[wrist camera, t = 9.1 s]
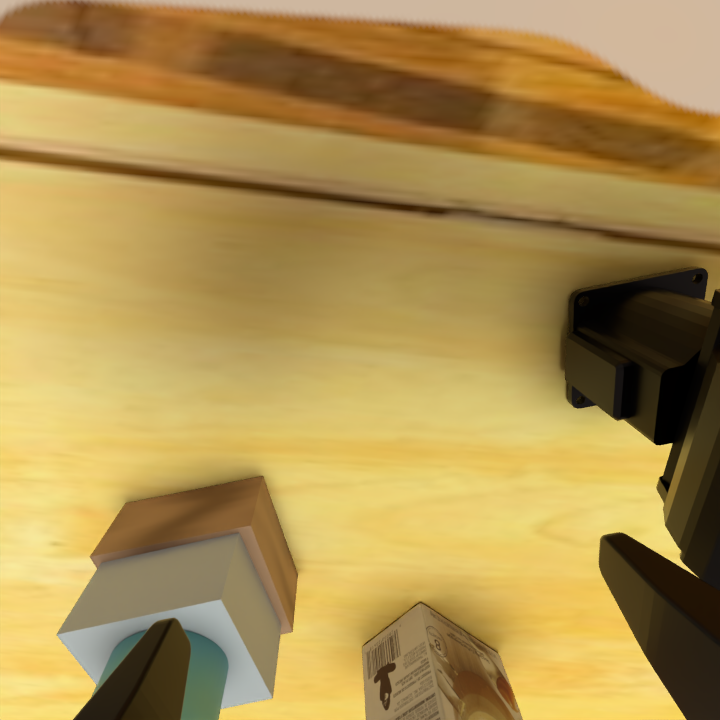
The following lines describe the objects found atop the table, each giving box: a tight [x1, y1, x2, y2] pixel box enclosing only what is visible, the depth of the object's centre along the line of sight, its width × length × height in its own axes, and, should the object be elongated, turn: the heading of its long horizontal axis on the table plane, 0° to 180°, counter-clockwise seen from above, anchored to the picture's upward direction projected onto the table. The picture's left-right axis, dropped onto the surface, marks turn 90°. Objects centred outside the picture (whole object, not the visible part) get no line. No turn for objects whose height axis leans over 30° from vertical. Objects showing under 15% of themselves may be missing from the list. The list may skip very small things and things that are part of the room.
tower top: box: [57, 533, 281, 709], centre depth 20 cm, size 7×7×4 cm
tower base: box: [90, 476, 298, 634], centre depth 23 cm, size 8×8×4 cm
